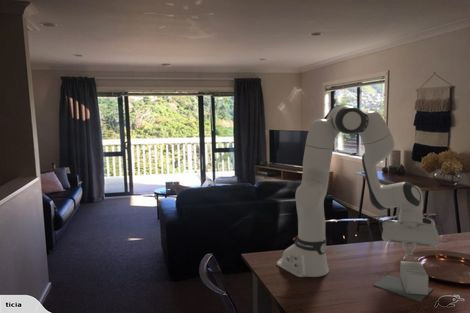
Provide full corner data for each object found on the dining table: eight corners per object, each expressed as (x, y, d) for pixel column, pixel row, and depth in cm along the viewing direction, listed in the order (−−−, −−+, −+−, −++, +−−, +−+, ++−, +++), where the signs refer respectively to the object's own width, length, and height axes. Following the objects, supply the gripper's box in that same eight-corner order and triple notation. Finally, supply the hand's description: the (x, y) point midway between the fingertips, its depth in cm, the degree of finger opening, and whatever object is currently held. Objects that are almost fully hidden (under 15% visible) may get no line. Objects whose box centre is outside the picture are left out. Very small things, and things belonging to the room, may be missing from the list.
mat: (373, 285, 138) (373, 284, 138) (387, 275, 146) (387, 274, 146) (420, 302, 126) (420, 300, 126) (432, 289, 134) (432, 288, 134)
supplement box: (420, 279, 141) (428, 296, 129) (399, 277, 143) (405, 293, 131) (420, 261, 140) (429, 276, 128) (400, 260, 142) (406, 274, 130)
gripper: (382, 215, 150) (379, 246, 142) (439, 221, 140) (438, 254, 133) (383, 223, 154) (380, 253, 147) (438, 229, 145) (438, 261, 137)
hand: (408, 253), depth 140 cm, fingers closed
